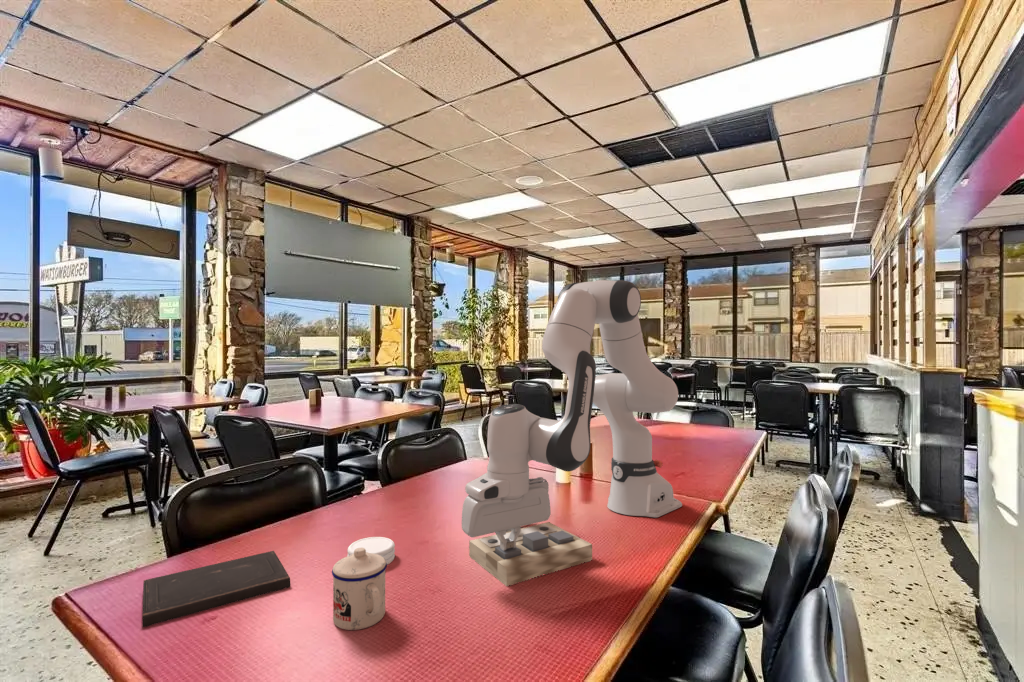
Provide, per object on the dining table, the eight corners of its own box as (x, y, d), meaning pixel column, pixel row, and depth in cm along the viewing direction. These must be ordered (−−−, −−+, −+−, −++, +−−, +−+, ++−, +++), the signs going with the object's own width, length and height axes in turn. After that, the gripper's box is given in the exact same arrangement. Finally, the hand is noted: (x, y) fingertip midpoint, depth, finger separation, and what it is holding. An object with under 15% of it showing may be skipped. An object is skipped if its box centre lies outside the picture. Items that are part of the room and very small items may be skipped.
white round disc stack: (403, 554, 110) (403, 539, 110) (377, 574, 101) (377, 557, 101) (365, 548, 113) (366, 533, 113) (337, 567, 104) (337, 550, 104)
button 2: (562, 543, 113) (562, 530, 113) (573, 549, 109) (573, 536, 109) (548, 547, 110) (548, 534, 110) (559, 553, 107) (559, 539, 107)
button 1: (511, 557, 105) (511, 543, 105) (521, 564, 102) (521, 549, 102) (495, 561, 103) (495, 547, 103) (504, 568, 100) (504, 554, 100)
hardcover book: (143, 592, 94) (143, 580, 94) (273, 560, 108) (273, 550, 108) (142, 631, 81) (142, 617, 81) (290, 590, 95) (290, 578, 95)
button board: (548, 536, 120) (548, 520, 120) (592, 560, 107) (592, 542, 107) (469, 556, 109) (469, 539, 109) (506, 586, 95) (506, 566, 95)
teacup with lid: (323, 615, 85) (324, 548, 85) (373, 597, 91) (373, 535, 91) (350, 647, 76) (351, 572, 76) (403, 625, 82) (404, 556, 82)
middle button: (537, 544, 109) (537, 531, 109) (548, 550, 105) (548, 537, 105) (522, 548, 107) (522, 534, 107) (533, 555, 103) (533, 541, 103)
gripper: (539, 472, 111) (539, 533, 111) (458, 486, 100) (458, 553, 100) (556, 479, 105) (556, 543, 105) (472, 494, 94) (472, 565, 94)
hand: (507, 548), depth 102 cm, fingers closed, pressing on button 1
